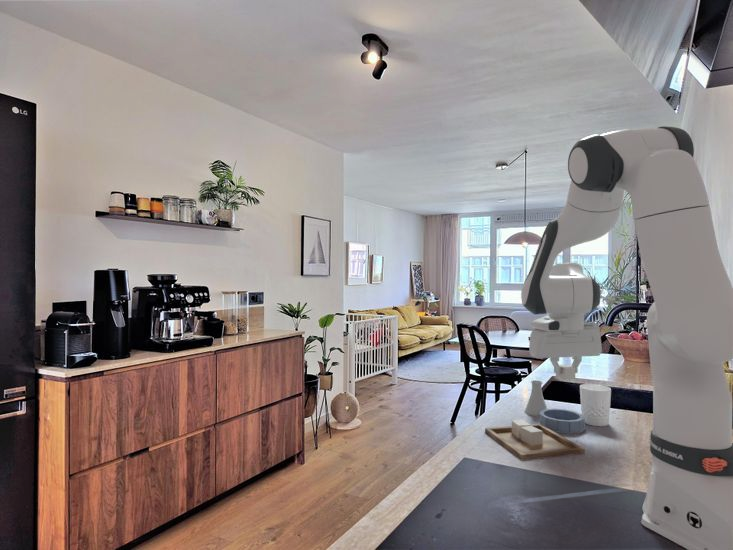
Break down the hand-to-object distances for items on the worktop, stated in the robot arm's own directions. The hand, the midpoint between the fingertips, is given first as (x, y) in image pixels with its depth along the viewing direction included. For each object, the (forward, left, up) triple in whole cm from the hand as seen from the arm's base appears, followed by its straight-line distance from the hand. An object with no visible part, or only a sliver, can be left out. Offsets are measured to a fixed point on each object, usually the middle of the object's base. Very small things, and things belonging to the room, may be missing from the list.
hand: (565, 373), depth 126 cm
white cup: (+2, -11, -15) cm, 19 cm away
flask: (+12, +1, -15) cm, 19 cm away
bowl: (0, +1, -15) cm, 15 cm away
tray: (-9, +16, -15) cm, 24 cm away
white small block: (0, 0, -1) cm, 1 cm away
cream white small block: (-9, +16, -14) cm, 23 cm away
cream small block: (-4, +16, -14) cm, 22 cm away
